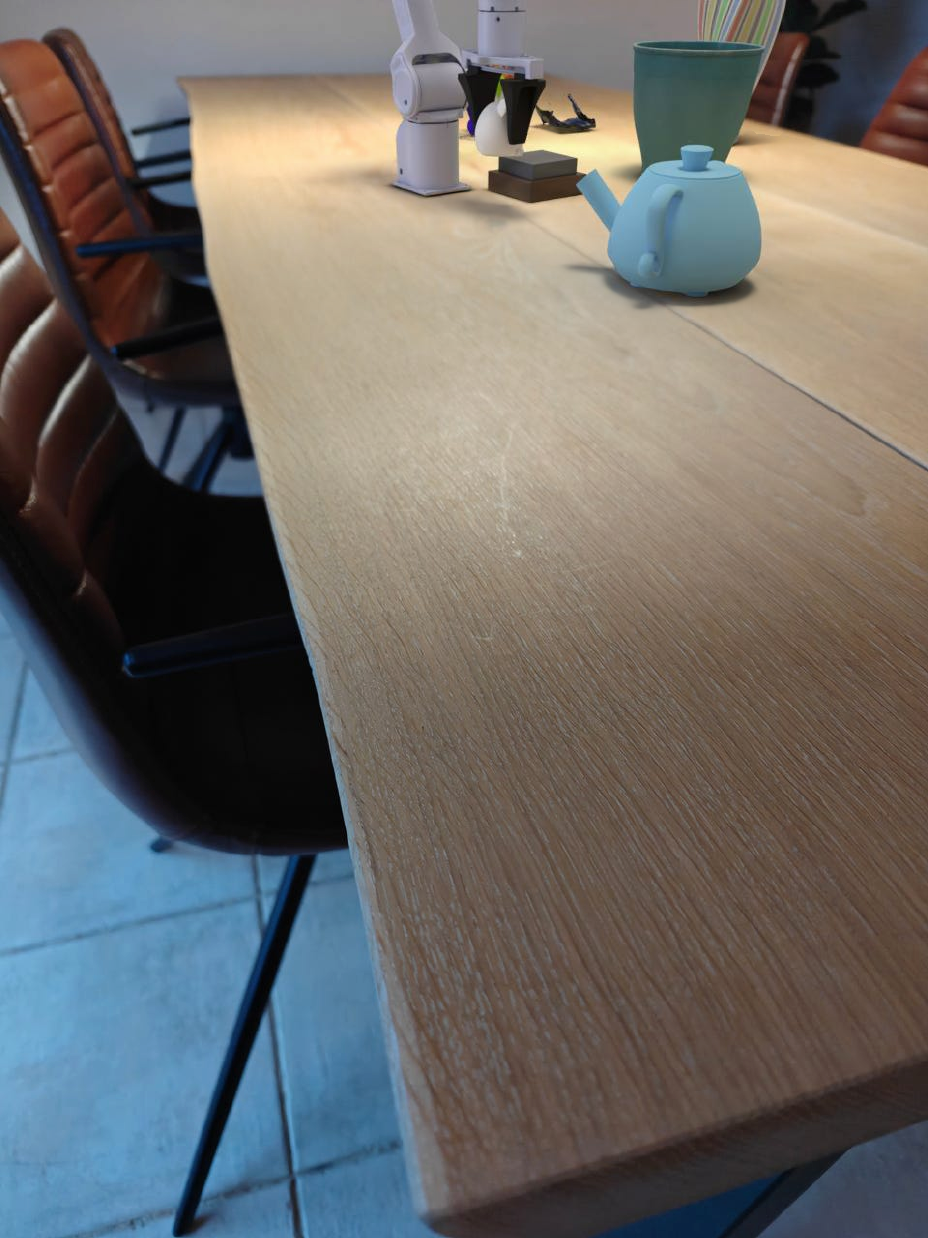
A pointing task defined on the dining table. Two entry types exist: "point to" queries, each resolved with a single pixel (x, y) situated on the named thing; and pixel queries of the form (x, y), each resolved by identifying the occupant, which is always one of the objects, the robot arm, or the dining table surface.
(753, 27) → the vase
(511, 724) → the dining table surface
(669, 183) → the teapot
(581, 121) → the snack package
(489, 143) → the figurine
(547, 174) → the stack
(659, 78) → the flower pot
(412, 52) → the robot arm
